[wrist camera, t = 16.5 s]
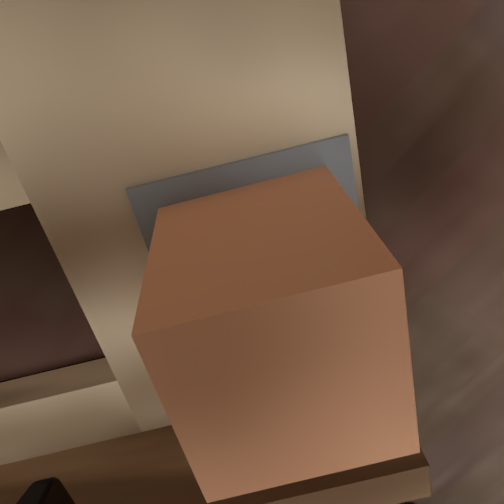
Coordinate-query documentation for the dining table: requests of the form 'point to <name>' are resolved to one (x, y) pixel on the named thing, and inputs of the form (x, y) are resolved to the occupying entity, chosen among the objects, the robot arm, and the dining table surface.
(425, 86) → the dining table surface
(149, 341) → the block
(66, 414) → the puzzle board
